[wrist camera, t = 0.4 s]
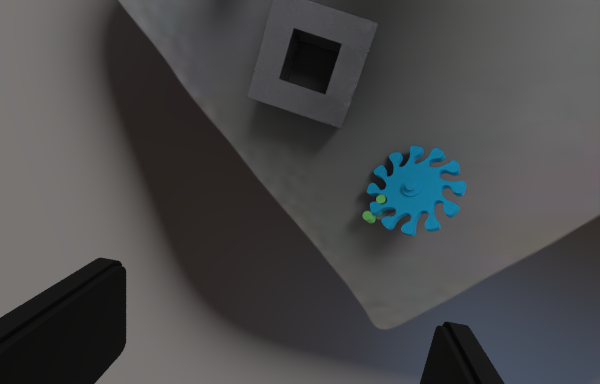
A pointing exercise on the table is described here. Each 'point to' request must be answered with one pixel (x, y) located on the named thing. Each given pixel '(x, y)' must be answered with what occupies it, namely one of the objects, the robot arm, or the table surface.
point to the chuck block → (319, 31)
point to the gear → (413, 191)
